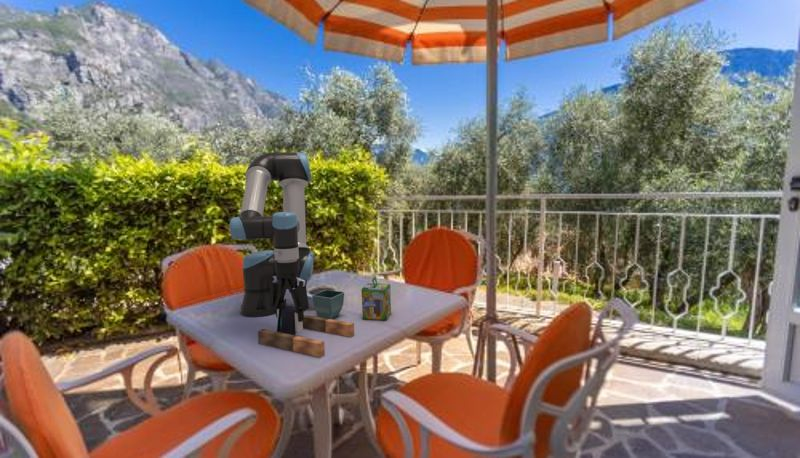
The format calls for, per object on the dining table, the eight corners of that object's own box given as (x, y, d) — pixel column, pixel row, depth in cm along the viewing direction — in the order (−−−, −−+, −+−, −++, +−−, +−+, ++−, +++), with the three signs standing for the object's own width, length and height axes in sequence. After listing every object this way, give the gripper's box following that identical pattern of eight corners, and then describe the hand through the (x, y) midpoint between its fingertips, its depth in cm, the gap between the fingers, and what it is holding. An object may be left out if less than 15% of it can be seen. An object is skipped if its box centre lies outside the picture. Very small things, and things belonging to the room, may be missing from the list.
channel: (258, 343, 123) (257, 331, 122) (297, 324, 139) (296, 313, 138) (320, 357, 112) (320, 344, 112) (354, 334, 128) (354, 323, 128)
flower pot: (345, 314, 148) (345, 291, 147) (332, 322, 140) (331, 298, 139) (326, 311, 152) (325, 289, 151) (312, 319, 144) (311, 295, 143)
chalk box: (386, 321, 141) (385, 281, 139) (361, 319, 143) (360, 280, 141) (391, 312, 150) (391, 275, 148) (368, 311, 152) (367, 274, 150)
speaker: (270, 332, 128) (272, 302, 126) (282, 327, 133) (284, 298, 132) (289, 338, 125) (291, 307, 123) (300, 333, 130) (303, 303, 128)
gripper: (255, 260, 127) (259, 328, 130) (303, 265, 118) (306, 338, 121) (272, 255, 133) (275, 320, 136) (318, 260, 125) (321, 329, 128)
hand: (290, 328), depth 129 cm, fingers closed on speaker, 7 cm apart
